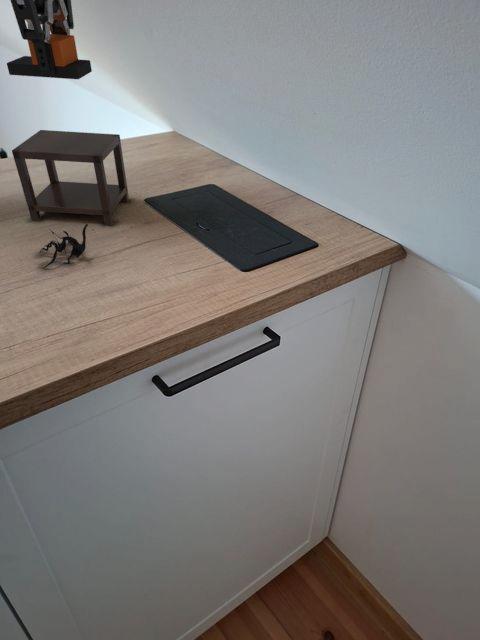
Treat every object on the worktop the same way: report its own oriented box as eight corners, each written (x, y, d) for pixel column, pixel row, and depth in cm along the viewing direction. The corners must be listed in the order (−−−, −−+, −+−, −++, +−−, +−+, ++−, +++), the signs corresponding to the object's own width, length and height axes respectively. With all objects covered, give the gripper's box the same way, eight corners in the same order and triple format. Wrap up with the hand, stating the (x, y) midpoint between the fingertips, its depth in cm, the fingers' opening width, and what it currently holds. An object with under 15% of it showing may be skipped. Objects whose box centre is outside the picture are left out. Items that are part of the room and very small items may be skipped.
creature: (32, 274, 74) (78, 271, 72) (14, 242, 70) (62, 237, 68) (58, 250, 80) (101, 245, 78) (43, 219, 76) (87, 214, 74)
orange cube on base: (9, 75, 69) (-1, 37, 66) (26, 67, 73) (18, 31, 70) (78, 79, 69) (72, 42, 66) (92, 71, 73) (86, 36, 70)
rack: (31, 221, 85) (11, 150, 77) (56, 196, 93) (40, 129, 85) (111, 226, 84) (99, 155, 76) (129, 200, 93) (119, 134, 85)
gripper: (22, -85, 66) (52, 59, 76) (-36, -91, 55) (8, 79, 65) (77, -82, 65) (99, 62, 76) (30, -87, 54) (63, 83, 65)
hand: (57, 69), depth 71 cm, fingers closed on orange cube on base, 5 cm apart
